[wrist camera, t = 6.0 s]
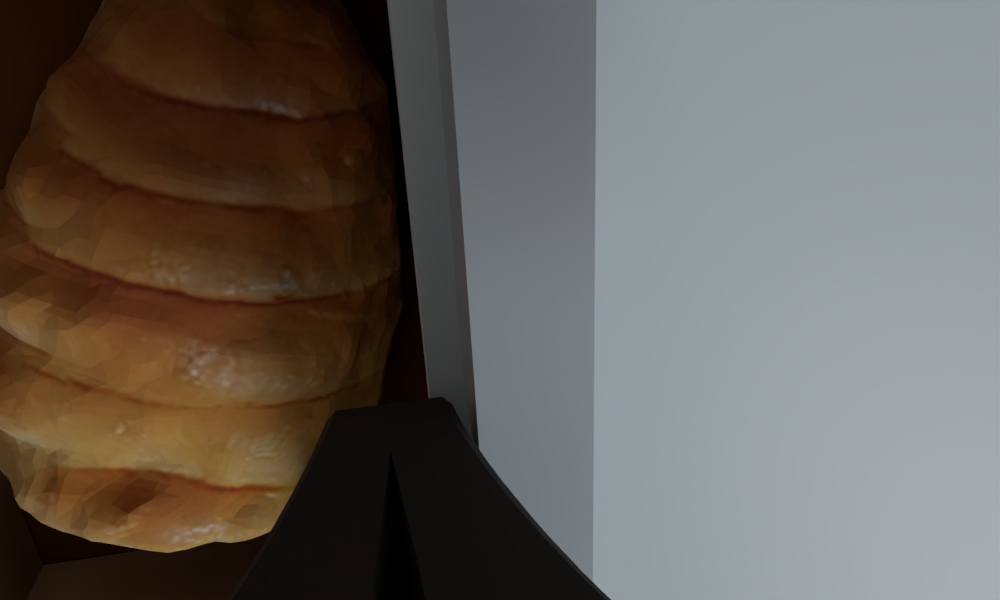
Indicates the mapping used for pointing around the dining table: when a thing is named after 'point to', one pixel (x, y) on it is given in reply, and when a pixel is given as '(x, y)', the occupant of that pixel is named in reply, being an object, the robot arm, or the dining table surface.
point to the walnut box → (116, 567)
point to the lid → (719, 282)
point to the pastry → (194, 268)
